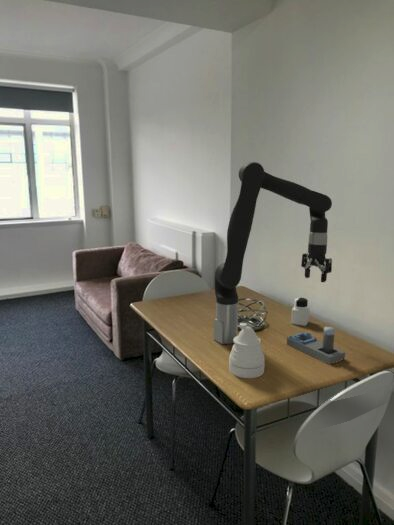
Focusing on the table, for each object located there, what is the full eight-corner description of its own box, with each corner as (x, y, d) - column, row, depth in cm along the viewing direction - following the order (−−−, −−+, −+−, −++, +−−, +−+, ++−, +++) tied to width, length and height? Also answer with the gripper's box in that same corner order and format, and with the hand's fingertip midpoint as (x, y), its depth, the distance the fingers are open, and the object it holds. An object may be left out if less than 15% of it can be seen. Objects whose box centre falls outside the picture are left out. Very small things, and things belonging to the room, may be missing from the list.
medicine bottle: (308, 321, 204) (310, 297, 202) (305, 326, 198) (307, 301, 195) (293, 319, 207) (295, 295, 205) (290, 323, 201) (291, 299, 198)
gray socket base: (344, 359, 164) (345, 347, 163) (329, 364, 159) (330, 352, 158) (301, 339, 182) (302, 328, 181) (286, 344, 178) (287, 332, 177)
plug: (327, 360, 163) (329, 331, 160) (319, 356, 166) (321, 327, 163) (334, 358, 165) (337, 329, 162) (326, 354, 168) (328, 325, 165)
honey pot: (239, 380, 147) (240, 332, 143) (223, 365, 159) (223, 320, 155) (271, 373, 152) (273, 326, 148) (252, 359, 164) (254, 315, 160)
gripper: (298, 240, 181) (296, 277, 185) (325, 245, 170) (322, 284, 173) (310, 239, 185) (308, 275, 189) (337, 244, 174) (334, 282, 177)
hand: (315, 279), depth 181 cm, fingers open, 8 cm apart
